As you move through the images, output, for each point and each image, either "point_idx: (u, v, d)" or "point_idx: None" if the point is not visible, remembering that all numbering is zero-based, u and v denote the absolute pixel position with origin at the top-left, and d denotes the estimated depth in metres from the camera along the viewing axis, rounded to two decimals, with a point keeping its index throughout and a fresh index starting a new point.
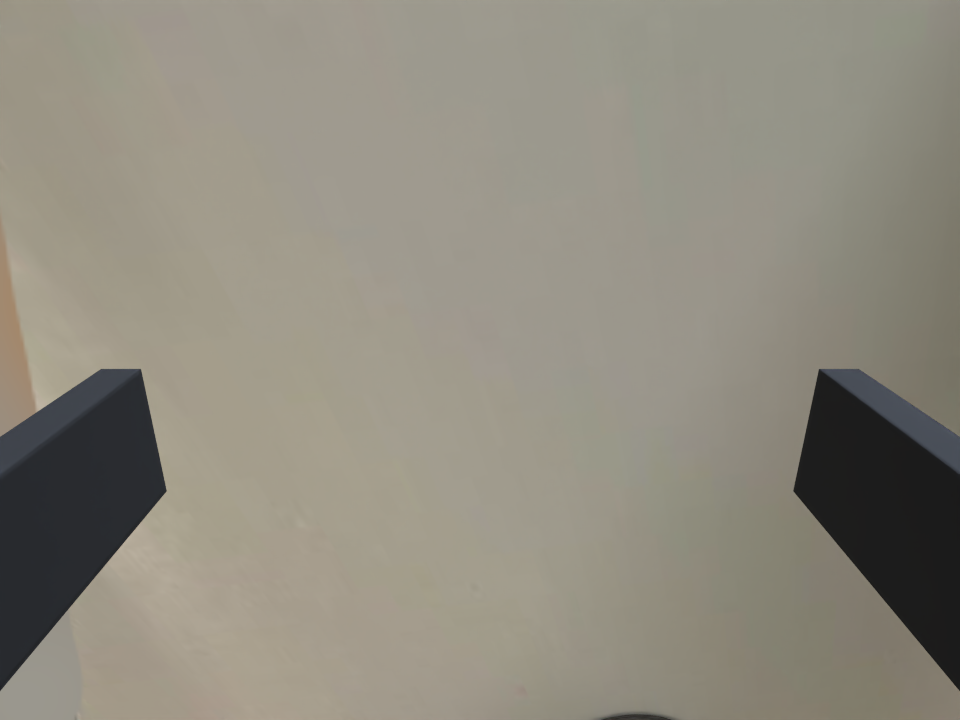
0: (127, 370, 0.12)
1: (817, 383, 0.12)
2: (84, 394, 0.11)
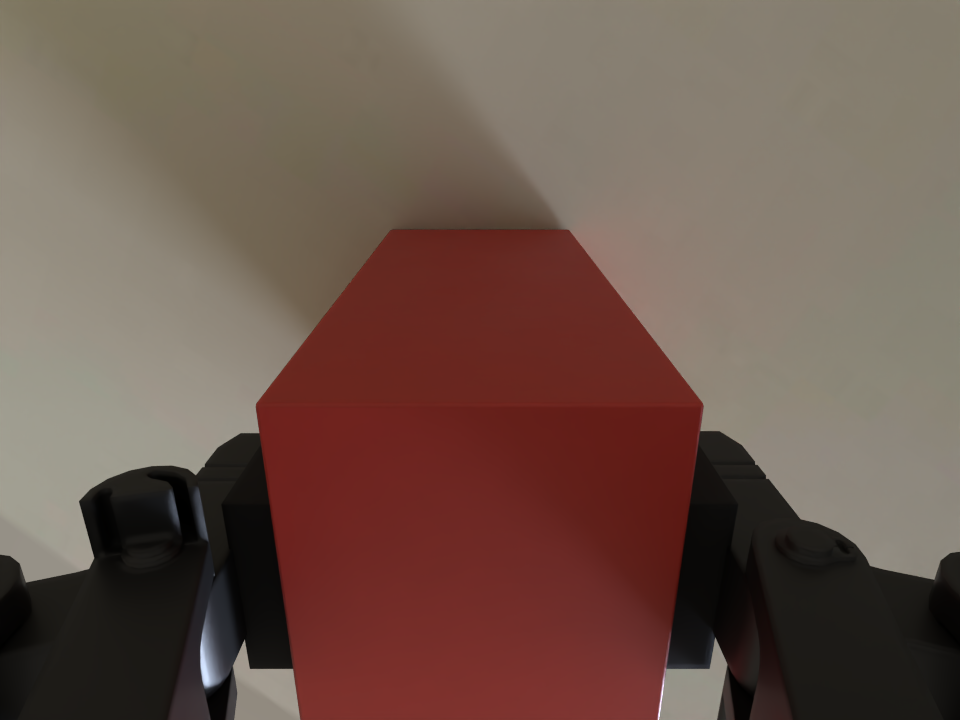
0: None
1: None
2: None
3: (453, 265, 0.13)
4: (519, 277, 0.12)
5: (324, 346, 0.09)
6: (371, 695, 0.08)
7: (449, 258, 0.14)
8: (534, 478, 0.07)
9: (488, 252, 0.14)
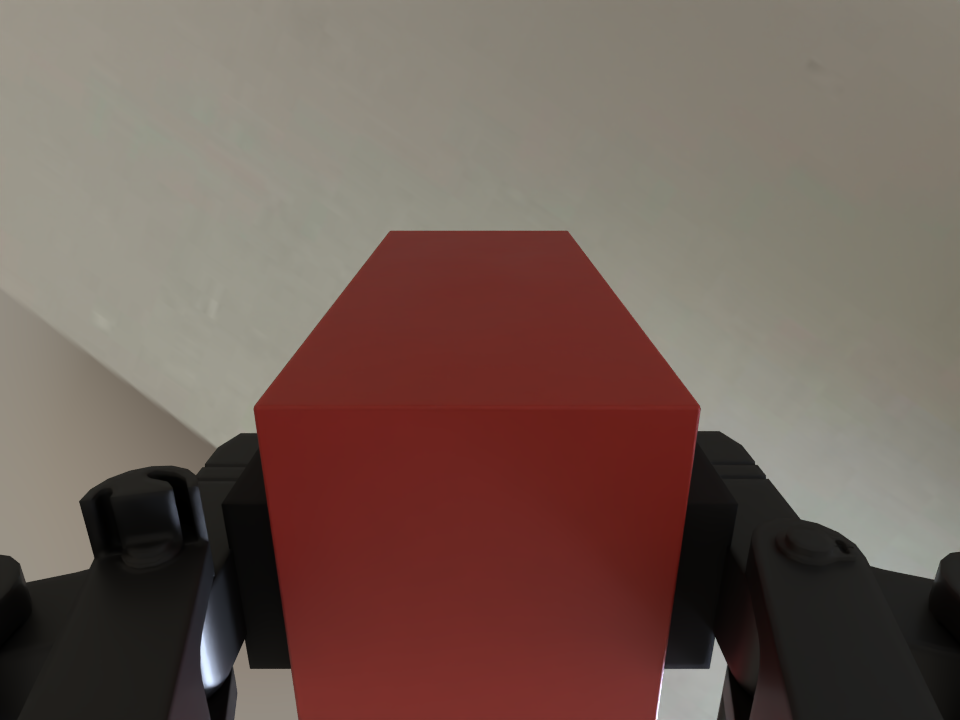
0: None
1: None
2: None
3: (452, 267, 0.13)
4: (517, 278, 0.12)
5: (322, 348, 0.09)
6: (370, 697, 0.08)
7: (448, 259, 0.14)
8: (531, 480, 0.07)
9: (487, 253, 0.14)
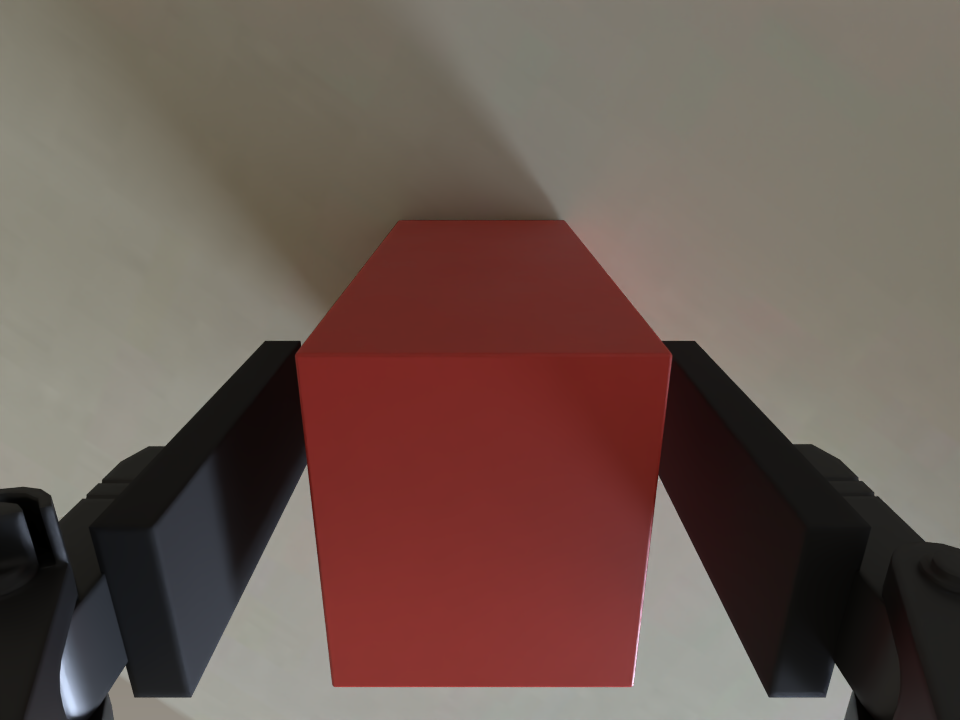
0: (289, 342, 0.13)
1: None
2: (264, 361, 0.12)
3: (458, 250, 0.14)
4: (517, 259, 0.13)
5: (348, 312, 0.10)
6: (389, 614, 0.10)
7: (454, 244, 0.15)
8: (529, 419, 0.08)
9: (489, 239, 0.16)
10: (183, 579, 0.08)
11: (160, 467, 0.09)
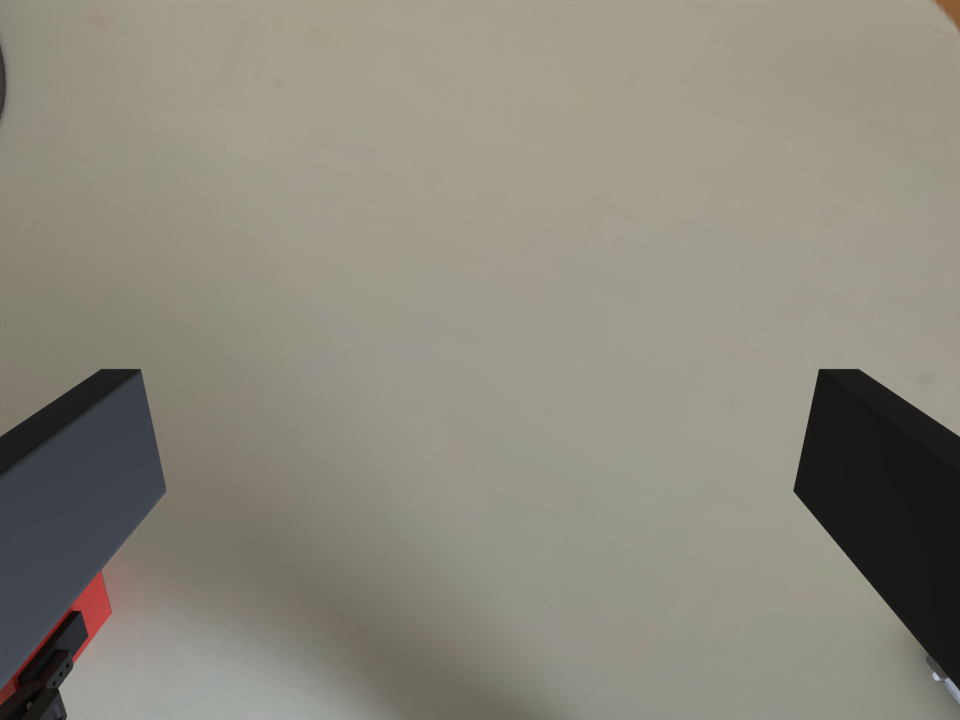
0: (127, 370, 0.12)
1: (817, 383, 0.12)
2: (84, 394, 0.11)
3: None
4: None
5: None
6: None
7: None
8: None
9: None
10: None
11: None
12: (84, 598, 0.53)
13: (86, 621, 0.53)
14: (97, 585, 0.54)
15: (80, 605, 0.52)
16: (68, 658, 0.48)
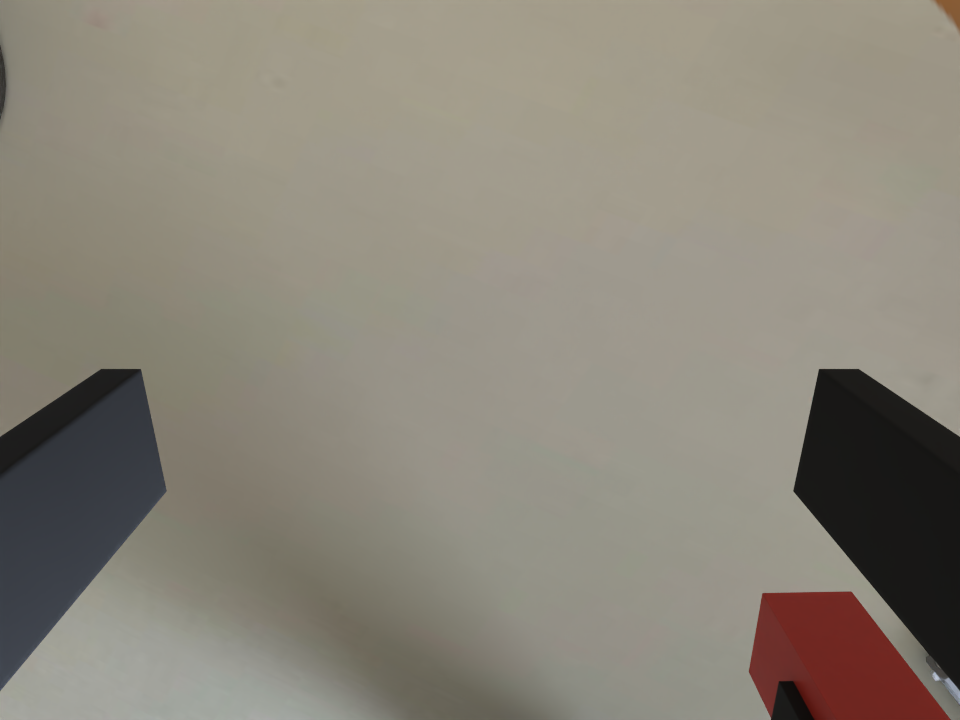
0: (127, 370, 0.12)
1: (817, 383, 0.12)
2: (84, 394, 0.11)
3: (839, 656, 0.31)
4: (878, 673, 0.30)
5: None
6: None
7: (829, 645, 0.31)
8: None
9: (840, 635, 0.32)
10: None
11: None
12: None
13: None
14: None
15: None
16: None
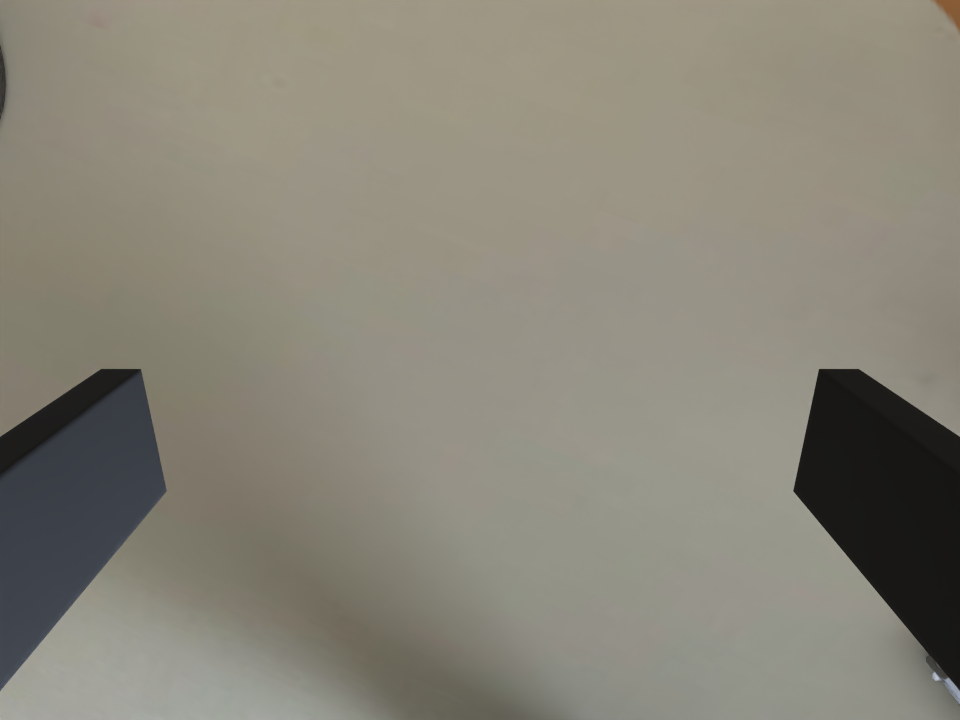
0: (127, 370, 0.12)
1: (817, 383, 0.12)
2: (84, 394, 0.11)
3: None
4: None
5: None
6: None
7: None
8: None
9: None
10: None
11: None
12: None
13: None
14: None
15: None
16: None
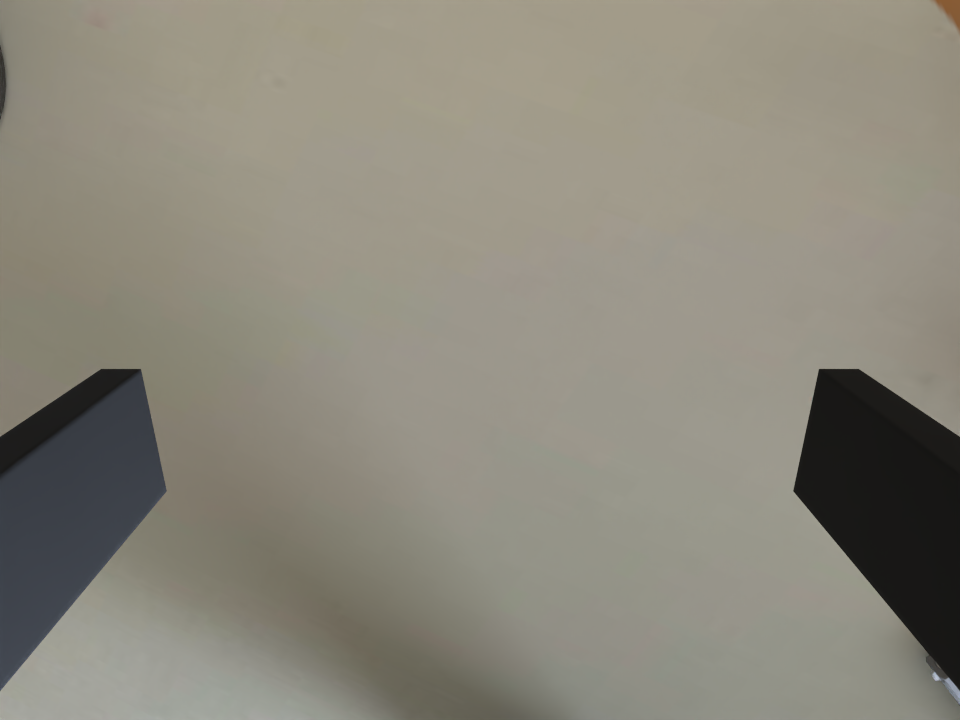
0: (127, 370, 0.12)
1: (817, 383, 0.12)
2: (84, 394, 0.11)
3: None
4: None
5: None
6: None
7: None
8: None
9: None
10: None
11: None
12: None
13: None
14: None
15: None
16: None
